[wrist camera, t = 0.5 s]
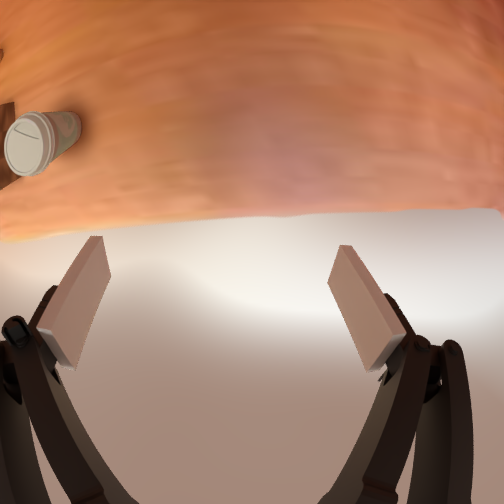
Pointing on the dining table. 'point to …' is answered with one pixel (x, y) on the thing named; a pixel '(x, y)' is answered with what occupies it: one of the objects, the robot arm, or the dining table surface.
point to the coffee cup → (40, 140)
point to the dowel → (1, 54)
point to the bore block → (3, 119)
